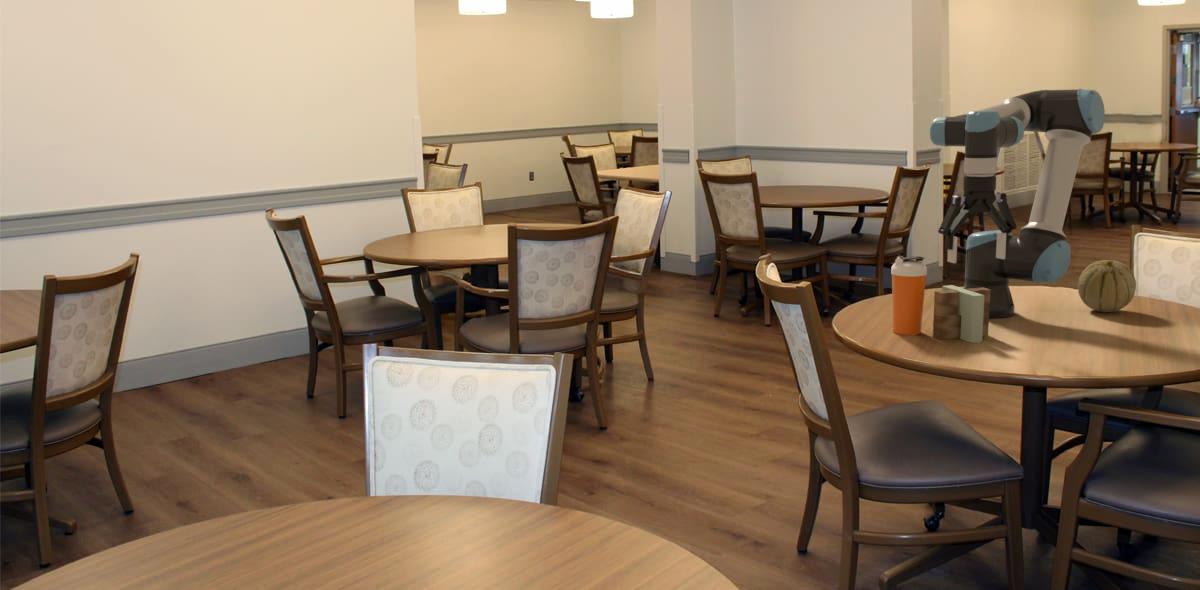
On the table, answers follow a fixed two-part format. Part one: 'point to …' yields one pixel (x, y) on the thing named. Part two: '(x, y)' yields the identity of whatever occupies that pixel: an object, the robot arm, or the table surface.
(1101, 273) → the cantaloupe
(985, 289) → the brown wooden slotted board
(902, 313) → the shaker bottle
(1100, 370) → the table surface
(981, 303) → the slot plate
